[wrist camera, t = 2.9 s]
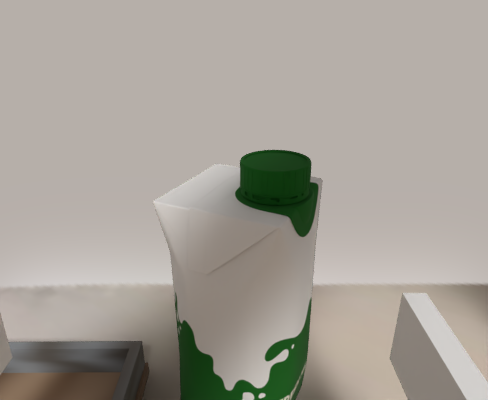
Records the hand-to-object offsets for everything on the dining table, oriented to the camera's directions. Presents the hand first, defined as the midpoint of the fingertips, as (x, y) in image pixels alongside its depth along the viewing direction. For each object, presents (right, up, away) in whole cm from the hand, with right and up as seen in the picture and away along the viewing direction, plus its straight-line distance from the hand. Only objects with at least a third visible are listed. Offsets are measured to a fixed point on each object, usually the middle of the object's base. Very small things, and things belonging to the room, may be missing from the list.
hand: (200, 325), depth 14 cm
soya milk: (+1, -12, +19) cm, 22 cm away
